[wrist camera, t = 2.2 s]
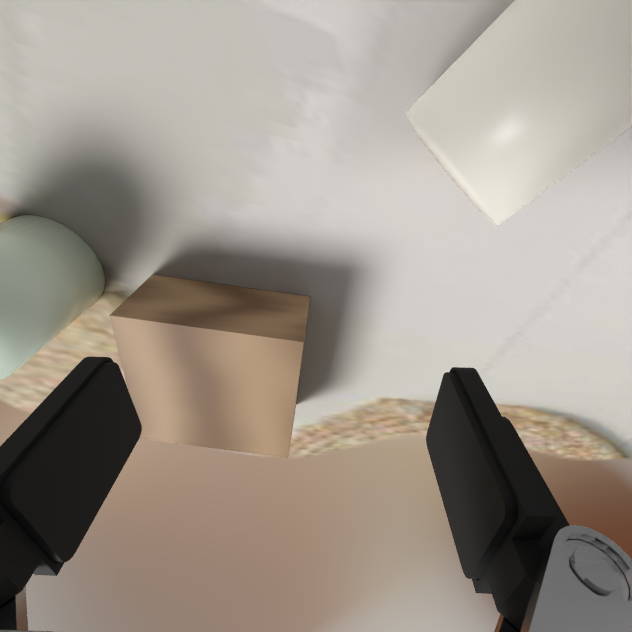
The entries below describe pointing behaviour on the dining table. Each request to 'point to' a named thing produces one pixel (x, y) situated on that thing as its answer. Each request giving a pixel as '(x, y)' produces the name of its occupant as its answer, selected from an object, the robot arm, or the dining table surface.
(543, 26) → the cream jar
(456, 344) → the dining table surface
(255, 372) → the tan box
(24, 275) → the pale green rounded cylinder
